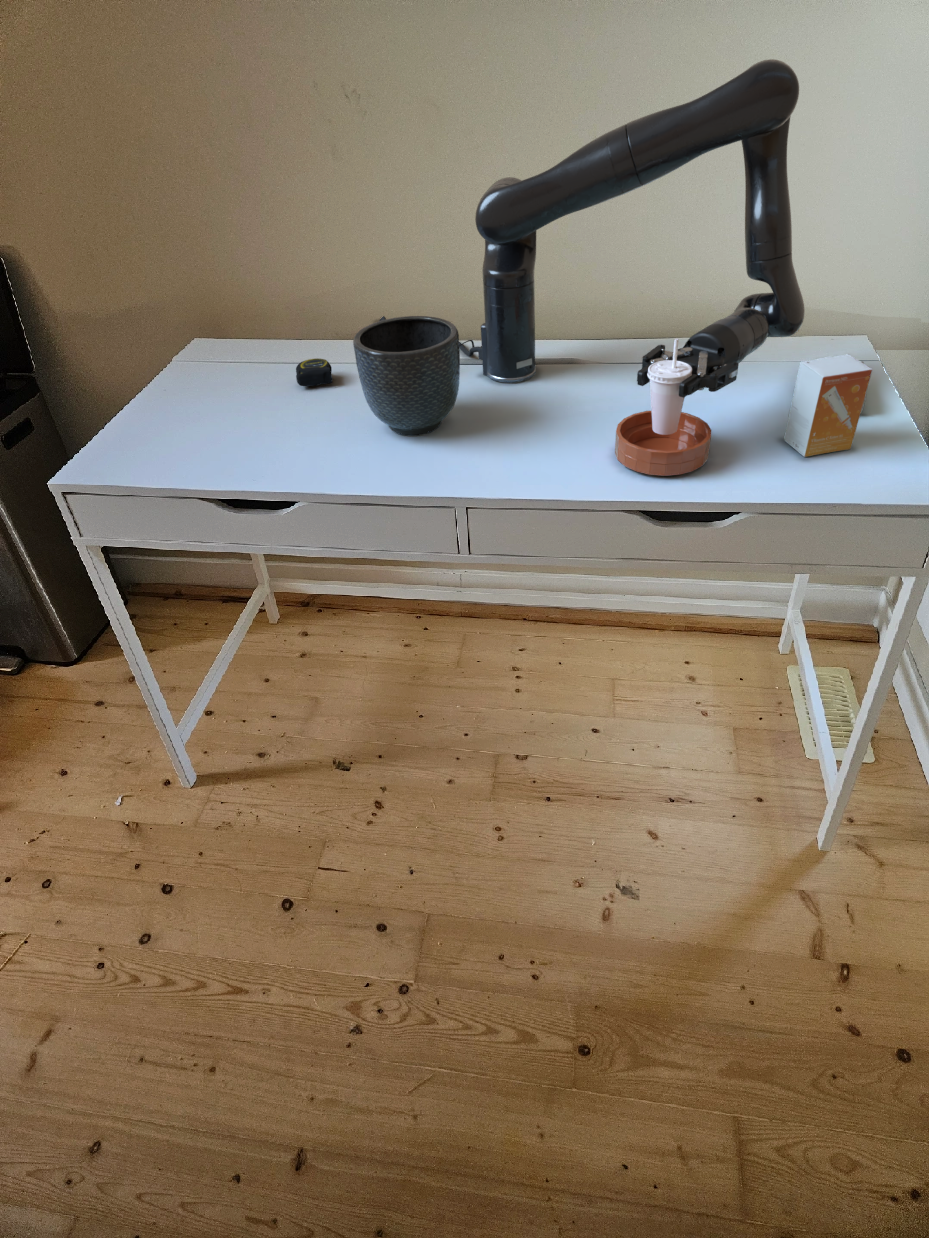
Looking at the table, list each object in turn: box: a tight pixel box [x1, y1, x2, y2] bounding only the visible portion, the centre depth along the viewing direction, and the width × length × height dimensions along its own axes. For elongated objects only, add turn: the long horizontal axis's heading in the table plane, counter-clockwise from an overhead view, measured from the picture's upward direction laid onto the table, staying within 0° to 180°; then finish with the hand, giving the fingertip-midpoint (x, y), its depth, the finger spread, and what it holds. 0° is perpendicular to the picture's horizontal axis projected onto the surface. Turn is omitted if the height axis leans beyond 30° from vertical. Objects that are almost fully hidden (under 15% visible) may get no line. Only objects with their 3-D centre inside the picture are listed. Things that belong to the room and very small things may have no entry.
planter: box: [352, 315, 461, 437], centre depth 137 cm, size 17×17×16 cm
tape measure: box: [295, 358, 333, 387], centre depth 158 cm, size 7×7×4 cm
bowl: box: [614, 410, 712, 477], centre depth 126 cm, size 14×14×4 cm
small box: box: [783, 353, 873, 458], centre depth 123 cm, size 8×6×13 cm
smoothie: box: [647, 338, 692, 435], centre depth 120 cm, size 6×6×14 cm
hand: (660, 385), depth 119 cm, fingers closed on smoothie, 6 cm apart
